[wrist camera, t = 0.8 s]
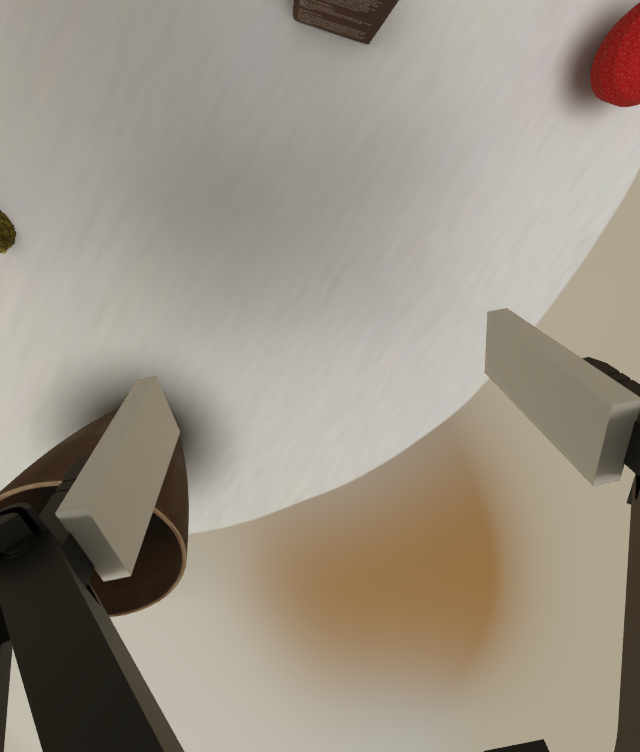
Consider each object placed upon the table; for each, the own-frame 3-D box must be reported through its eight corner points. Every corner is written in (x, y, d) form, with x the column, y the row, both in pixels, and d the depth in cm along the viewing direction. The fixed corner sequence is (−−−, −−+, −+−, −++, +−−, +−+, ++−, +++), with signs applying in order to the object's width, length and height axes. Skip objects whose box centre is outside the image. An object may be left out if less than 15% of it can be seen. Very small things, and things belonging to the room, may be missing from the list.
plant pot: (144, 343, 39) (69, 446, 25) (242, 440, 46) (226, 565, 32) (39, 421, 42) (-81, 551, 28) (145, 502, 48) (91, 640, 34)
